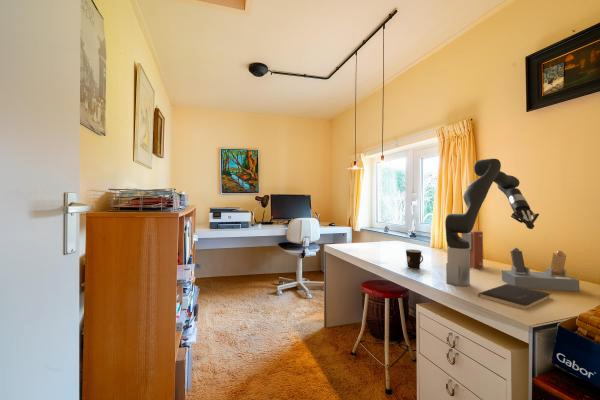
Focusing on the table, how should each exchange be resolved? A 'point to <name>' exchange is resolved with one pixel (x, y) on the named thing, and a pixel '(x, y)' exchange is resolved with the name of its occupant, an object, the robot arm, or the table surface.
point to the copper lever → (558, 263)
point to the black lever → (518, 260)
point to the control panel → (475, 247)
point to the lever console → (540, 280)
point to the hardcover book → (515, 296)
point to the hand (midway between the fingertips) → (531, 228)
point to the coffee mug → (414, 258)
